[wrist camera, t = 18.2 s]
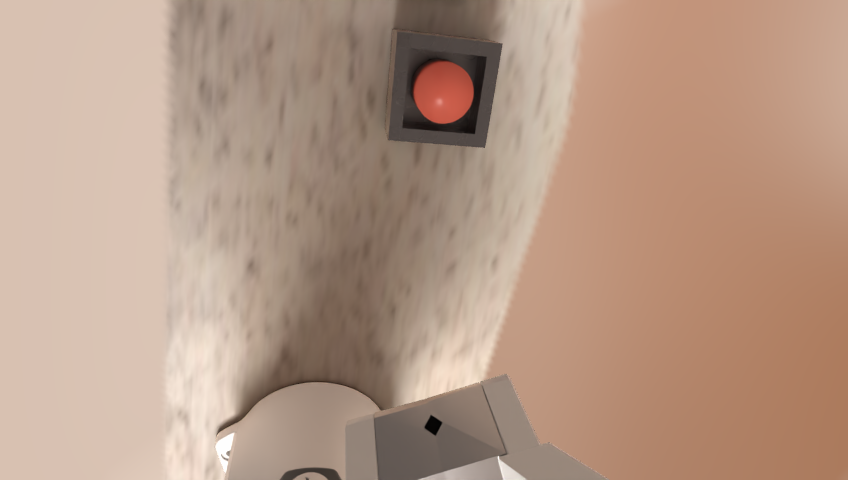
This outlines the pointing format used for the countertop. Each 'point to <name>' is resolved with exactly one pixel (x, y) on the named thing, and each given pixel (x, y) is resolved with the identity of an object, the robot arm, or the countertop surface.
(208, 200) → the countertop surface
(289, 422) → the robot arm
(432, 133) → the button housing
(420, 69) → the button
